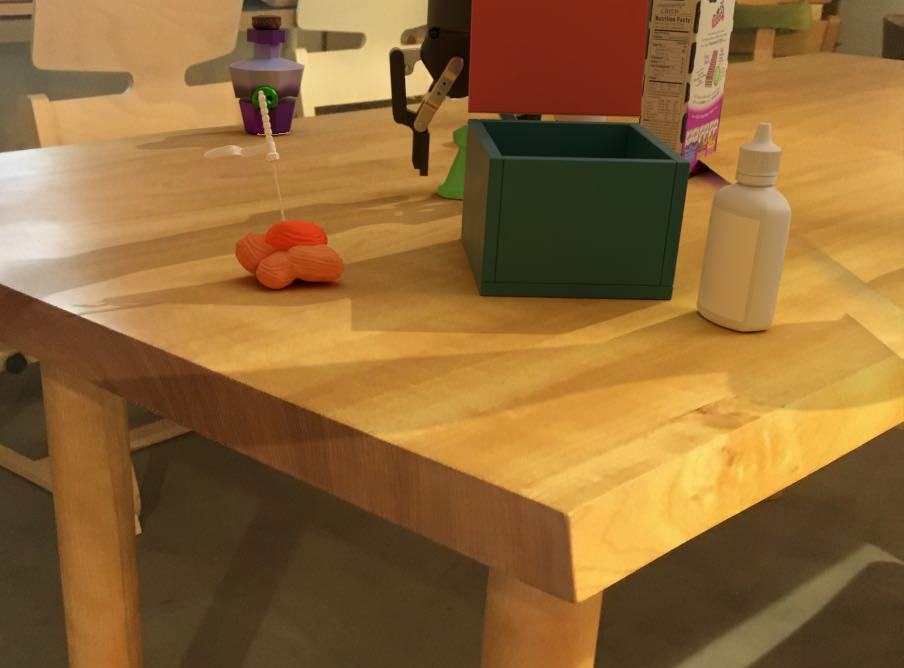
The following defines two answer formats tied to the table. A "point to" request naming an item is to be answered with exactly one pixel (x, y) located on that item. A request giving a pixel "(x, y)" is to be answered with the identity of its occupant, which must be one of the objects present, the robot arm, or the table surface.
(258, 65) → the potion bottle
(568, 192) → the open storage box
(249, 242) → the peanut cluster ornament
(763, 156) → the eye dropper bottle
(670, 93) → the candy bar box
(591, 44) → the lid
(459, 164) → the game piece
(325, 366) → the table surface
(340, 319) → the table surface
